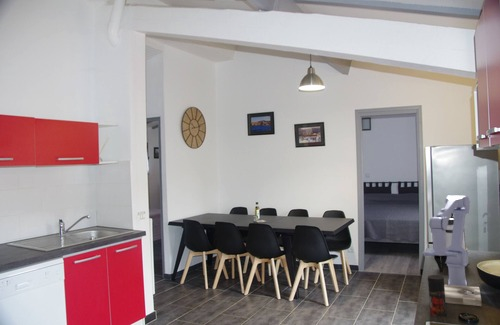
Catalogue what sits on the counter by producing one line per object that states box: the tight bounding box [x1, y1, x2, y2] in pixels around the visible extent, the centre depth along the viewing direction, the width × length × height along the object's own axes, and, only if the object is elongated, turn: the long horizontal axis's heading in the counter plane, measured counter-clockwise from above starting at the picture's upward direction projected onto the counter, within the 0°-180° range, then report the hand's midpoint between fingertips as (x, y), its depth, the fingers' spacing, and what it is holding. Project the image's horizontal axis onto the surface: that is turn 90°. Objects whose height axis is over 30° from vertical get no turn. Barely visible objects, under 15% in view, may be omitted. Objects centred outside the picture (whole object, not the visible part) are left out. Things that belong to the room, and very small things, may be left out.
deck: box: [444, 284, 482, 307], centre depth 178 cm, size 18×17×2 cm
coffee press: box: [440, 213, 470, 266], centre depth 230 cm, size 17×16×30 cm
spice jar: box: [427, 274, 447, 318], centre depth 162 cm, size 6×6×15 cm
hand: (441, 271), depth 185 cm, fingers closed
